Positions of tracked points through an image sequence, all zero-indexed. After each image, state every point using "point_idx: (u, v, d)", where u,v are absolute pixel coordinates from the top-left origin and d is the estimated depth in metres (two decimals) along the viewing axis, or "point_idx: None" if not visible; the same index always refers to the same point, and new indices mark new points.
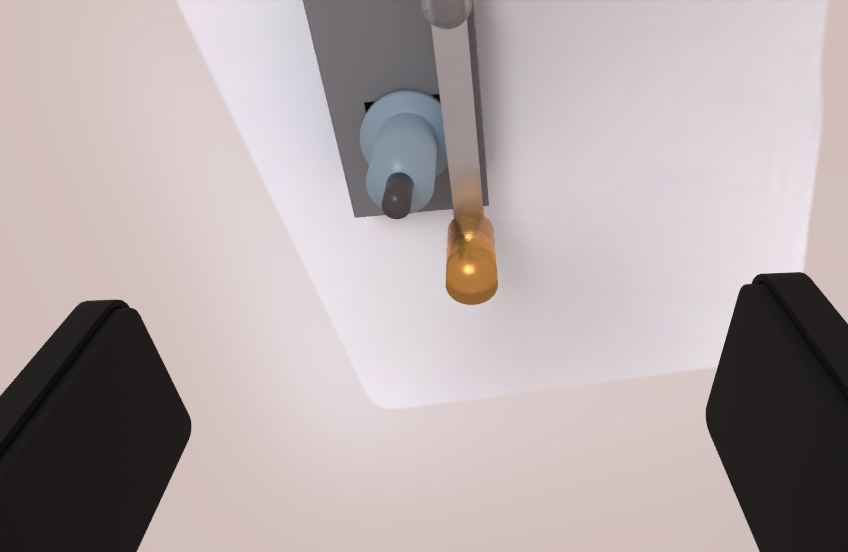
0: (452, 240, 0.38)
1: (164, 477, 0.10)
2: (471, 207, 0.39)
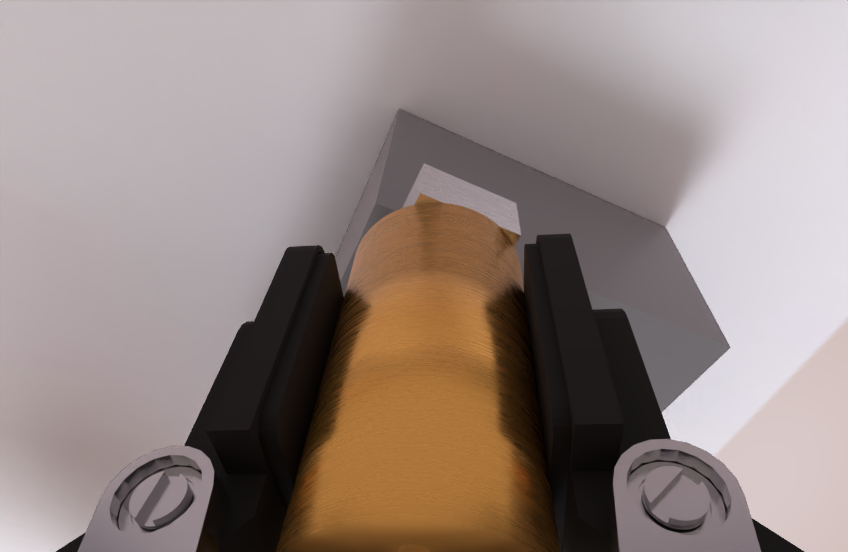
0: None
1: None
2: None
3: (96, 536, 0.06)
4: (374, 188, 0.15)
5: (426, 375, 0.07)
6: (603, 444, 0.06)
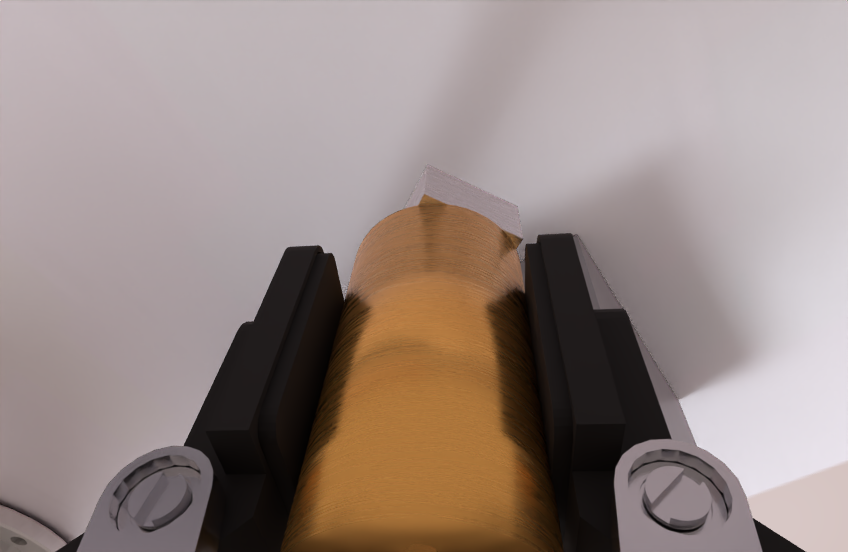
0: None
1: None
2: None
3: (95, 536, 0.06)
4: None
5: (433, 376, 0.07)
6: (604, 444, 0.06)
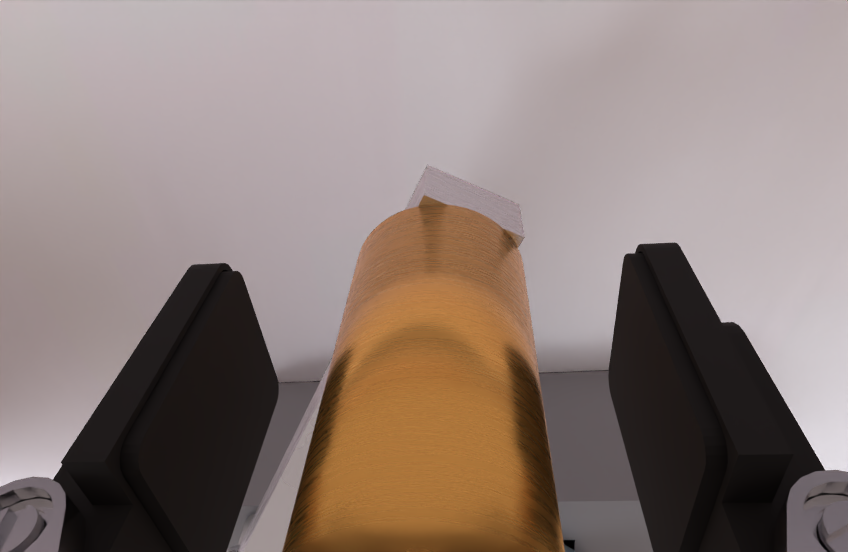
0: None
1: (261, 433, 0.10)
2: None
3: None
4: None
5: (431, 378, 0.07)
6: (765, 475, 0.06)
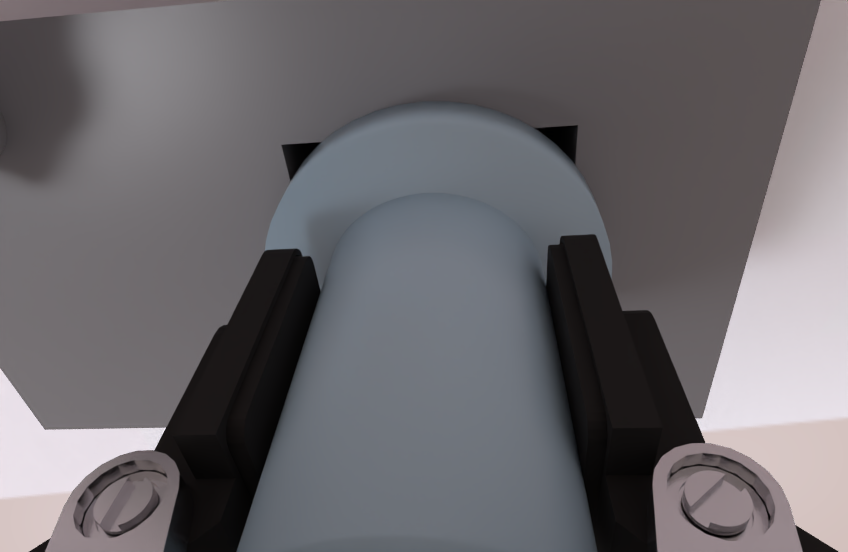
0: None
1: None
2: None
3: (60, 544, 0.06)
4: None
5: None
6: (640, 448, 0.06)
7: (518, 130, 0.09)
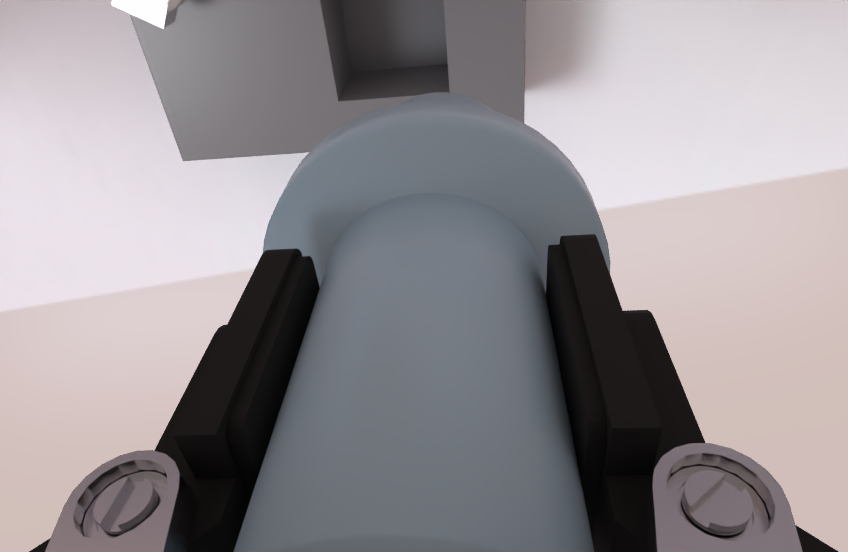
0: None
1: None
2: None
3: (61, 544, 0.06)
4: None
5: None
6: (640, 448, 0.06)
7: (516, 130, 0.09)
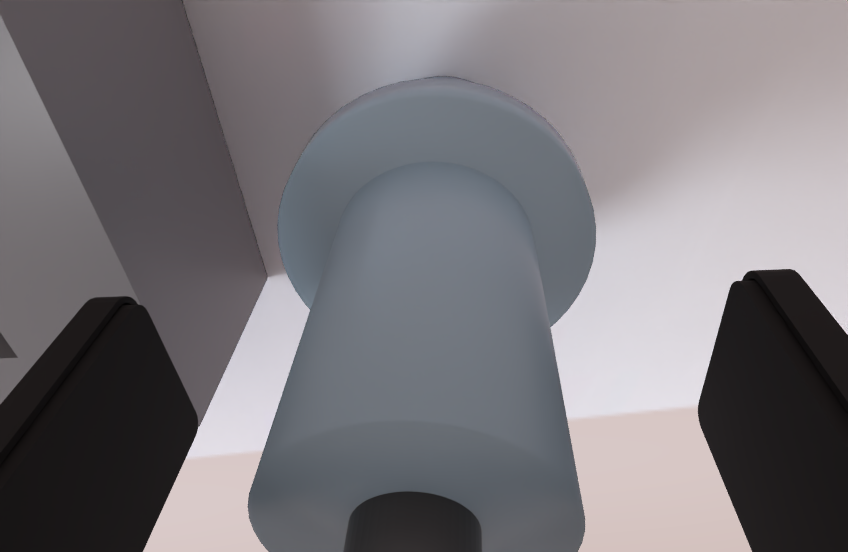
0: None
1: (172, 472, 0.10)
2: None
3: None
4: None
5: None
6: None
7: (509, 104, 0.10)
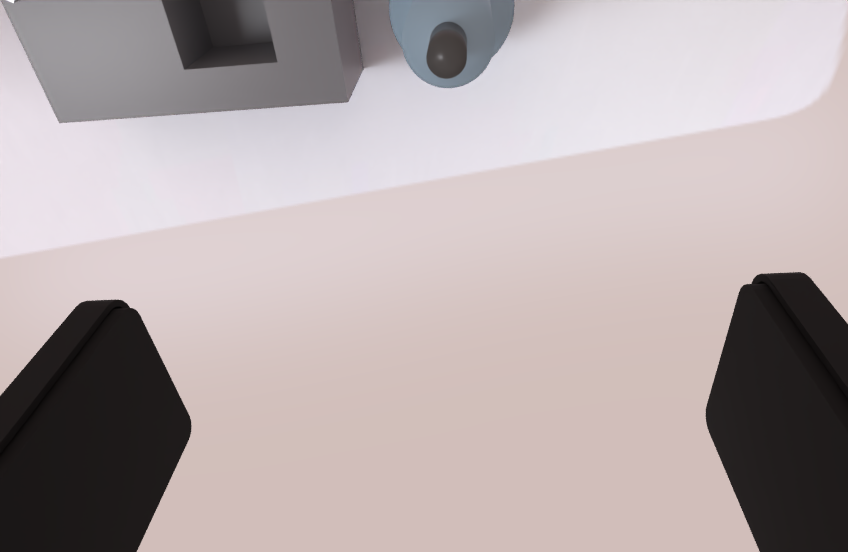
0: None
1: (164, 477, 0.10)
2: None
3: None
4: None
5: None
6: None
7: None
